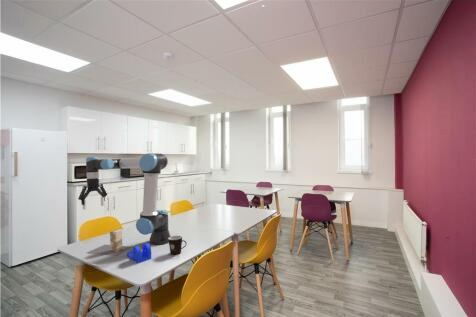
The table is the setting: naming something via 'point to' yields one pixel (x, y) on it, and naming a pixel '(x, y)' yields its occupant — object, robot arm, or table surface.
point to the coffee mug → (175, 244)
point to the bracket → (140, 253)
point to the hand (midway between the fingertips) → (93, 207)
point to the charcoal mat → (108, 250)
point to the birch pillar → (115, 240)
